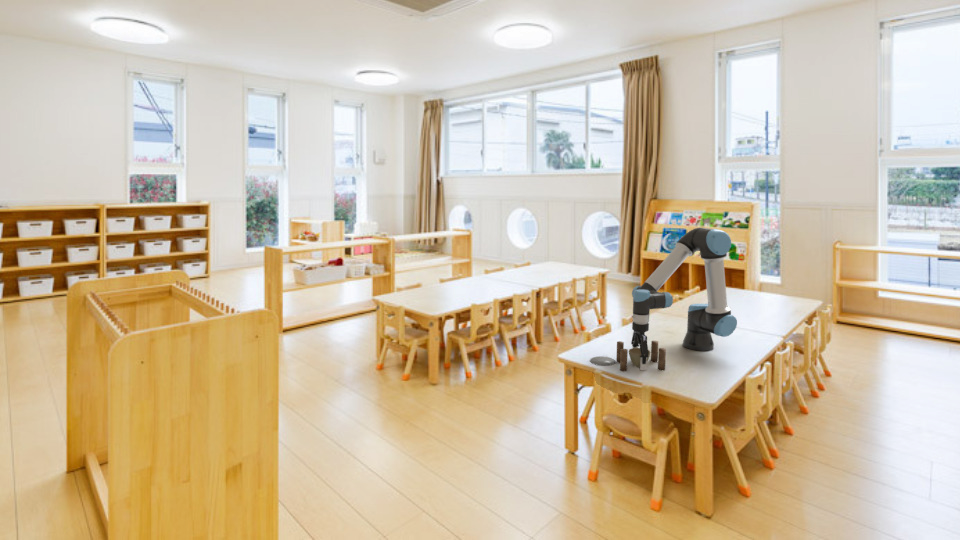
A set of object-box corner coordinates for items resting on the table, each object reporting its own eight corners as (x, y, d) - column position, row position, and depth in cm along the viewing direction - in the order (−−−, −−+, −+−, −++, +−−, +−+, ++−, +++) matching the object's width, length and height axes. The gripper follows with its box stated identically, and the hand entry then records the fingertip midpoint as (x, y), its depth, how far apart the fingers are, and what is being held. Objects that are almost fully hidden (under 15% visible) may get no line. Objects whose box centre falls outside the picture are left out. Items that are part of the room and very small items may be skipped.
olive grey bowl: (633, 360, 258) (633, 346, 257) (653, 364, 252) (653, 350, 251) (624, 366, 251) (625, 351, 250) (645, 370, 245) (645, 356, 243)
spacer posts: (656, 359, 258) (657, 340, 257) (666, 370, 244) (667, 350, 242) (613, 360, 259) (613, 341, 257) (620, 371, 244) (621, 350, 242)
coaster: (612, 357, 263) (612, 356, 263) (618, 365, 252) (618, 364, 252) (588, 357, 264) (588, 356, 264) (593, 365, 252) (593, 365, 252)
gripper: (625, 315, 260) (624, 356, 264) (640, 329, 236) (638, 374, 239) (640, 315, 260) (639, 356, 264) (656, 329, 235) (654, 374, 239)
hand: (638, 364), depth 251 cm, fingers open, 13 cm apart
